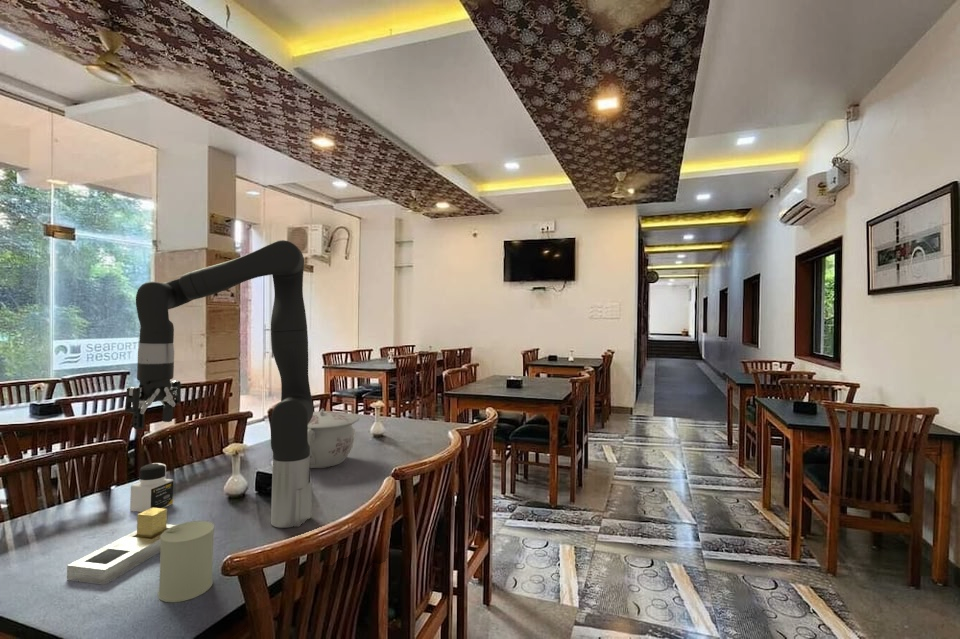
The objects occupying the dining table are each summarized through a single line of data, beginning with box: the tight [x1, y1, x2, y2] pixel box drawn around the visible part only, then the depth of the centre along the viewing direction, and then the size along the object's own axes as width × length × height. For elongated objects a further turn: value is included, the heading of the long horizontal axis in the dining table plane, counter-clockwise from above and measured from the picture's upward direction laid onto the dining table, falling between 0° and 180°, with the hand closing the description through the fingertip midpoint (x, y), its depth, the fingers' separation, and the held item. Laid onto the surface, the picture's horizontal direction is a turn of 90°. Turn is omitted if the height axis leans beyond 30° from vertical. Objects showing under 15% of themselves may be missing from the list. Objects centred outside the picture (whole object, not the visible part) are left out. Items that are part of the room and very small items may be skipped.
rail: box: [66, 523, 177, 586], centre depth 101 cm, size 9×20×3 cm, turn 172°
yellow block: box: [136, 508, 168, 539], centre depth 107 cm, size 4×4×8 cm
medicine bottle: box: [129, 462, 174, 513], centre depth 128 cm, size 7×7×12 cm
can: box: [157, 520, 215, 603], centre depth 90 cm, size 9×9×12 cm
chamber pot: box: [308, 408, 360, 469], centre depth 170 cm, size 28×28×21 cm
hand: (153, 425), depth 114 cm, fingers open, 8 cm apart
